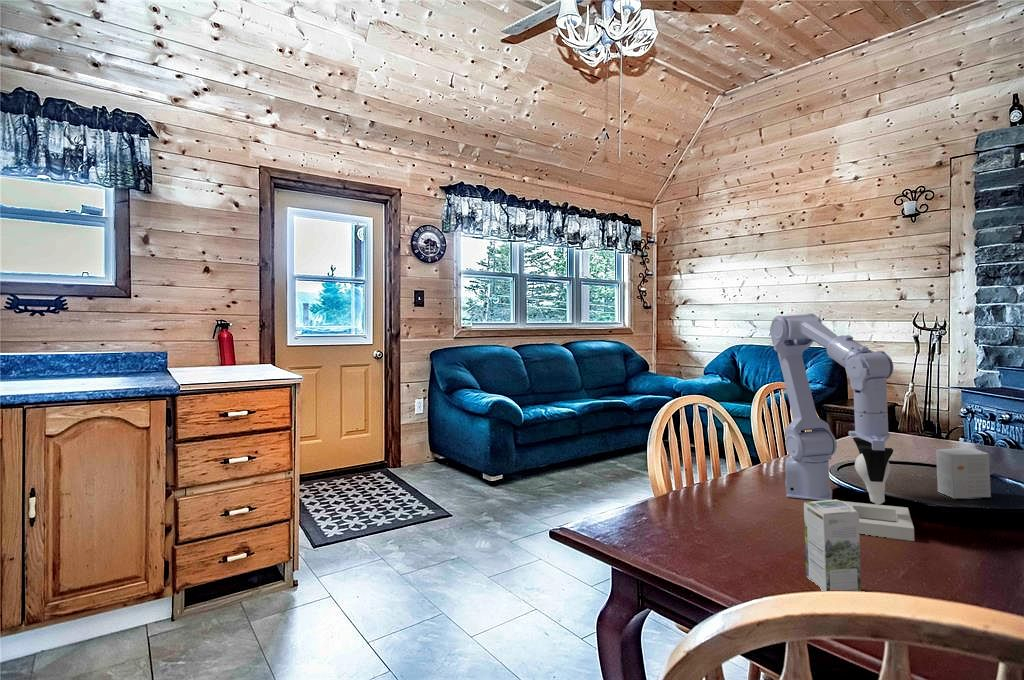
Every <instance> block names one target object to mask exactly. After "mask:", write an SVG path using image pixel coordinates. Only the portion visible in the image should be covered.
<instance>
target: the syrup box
mask: <svg viewBox="0 0 1024 680" xmlns="http://www.w3.org/2000/svg"><path fill="white" fill-rule="evenodd" d="M842 501H843V500H839V499H832V500H824V501H822V500H814V501H813V500H812V501H804V502H803V521H804V523H803V524H804V547H805V578H806V577H807V578H808V579H809V580H811V581H812V582H814V583H815V584H816V585H818V586H819V587H820V589H821V591H831V590H841V591H861V592H862V587H861V586H862V584H861V583H862V582H861V579H862V578H861V577H862V576H861V546H860V545H861V544H860V541H861V540H860V537H861V536H860V534H859V512H858V511H856V510H855V509H854V508H852V507H851V506H849V505H847V504H846V503H844V502H842Z"/></svg>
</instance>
